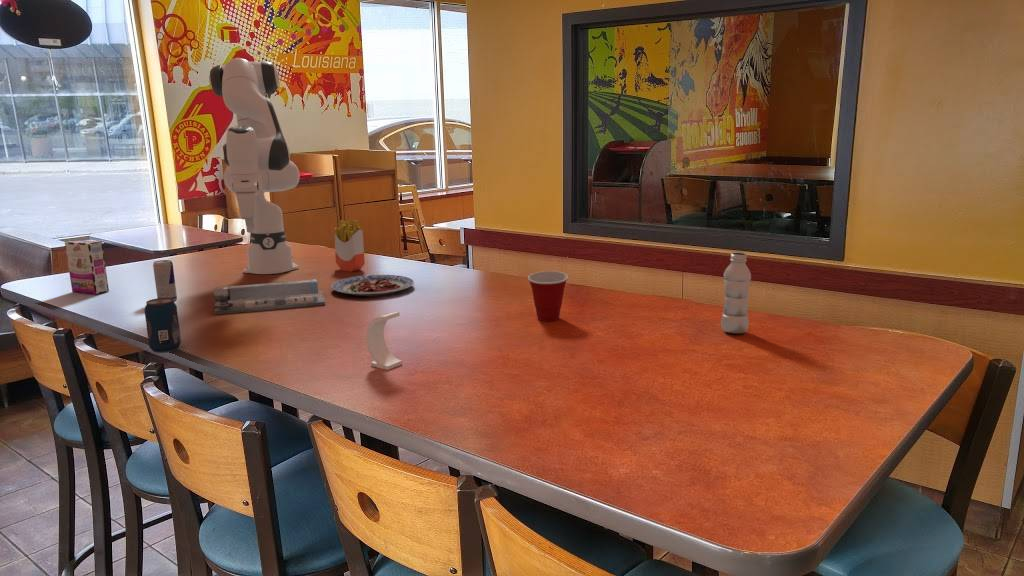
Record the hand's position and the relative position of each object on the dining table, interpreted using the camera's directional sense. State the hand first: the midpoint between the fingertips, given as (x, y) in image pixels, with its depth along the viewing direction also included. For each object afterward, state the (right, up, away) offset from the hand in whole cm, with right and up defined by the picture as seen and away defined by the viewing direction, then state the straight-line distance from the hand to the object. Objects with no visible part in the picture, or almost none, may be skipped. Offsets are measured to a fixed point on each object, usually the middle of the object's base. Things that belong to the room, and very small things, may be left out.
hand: (250, 230), depth 213 cm
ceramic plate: (+33, -18, +17) cm, 41 cm away
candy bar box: (-58, -18, +18) cm, 63 cm away
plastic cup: (+87, -25, -18) cm, 92 cm away
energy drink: (-27, -21, +6) cm, 35 cm away
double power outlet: (+6, -22, 0) cm, 22 cm away
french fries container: (+19, -11, +46) cm, 51 cm away
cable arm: (+5, -19, -1) cm, 20 cm away
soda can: (-6, -32, -40) cm, 52 cm away
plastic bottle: (+133, -28, -33) cm, 140 cm away
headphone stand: (+49, -34, -53) cm, 80 cm away
